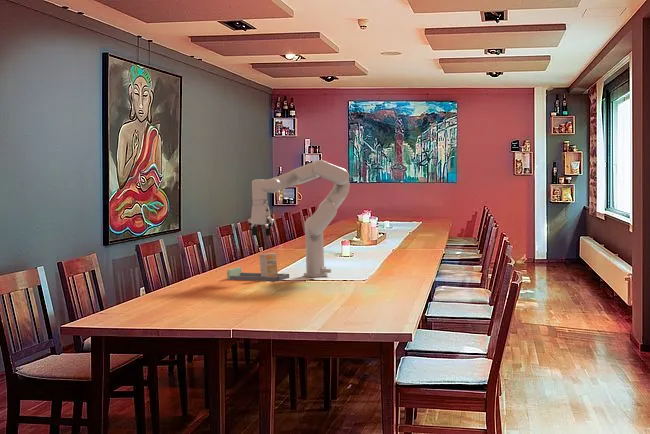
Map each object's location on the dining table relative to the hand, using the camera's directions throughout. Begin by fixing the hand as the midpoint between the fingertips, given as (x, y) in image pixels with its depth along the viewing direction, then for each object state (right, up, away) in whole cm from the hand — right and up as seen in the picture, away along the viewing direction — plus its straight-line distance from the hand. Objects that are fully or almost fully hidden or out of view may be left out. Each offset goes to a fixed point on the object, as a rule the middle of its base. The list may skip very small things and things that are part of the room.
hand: (261, 235), depth 409 cm
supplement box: (+5, -23, -4) cm, 23 cm away
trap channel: (-1, -23, -2) cm, 23 cm away
